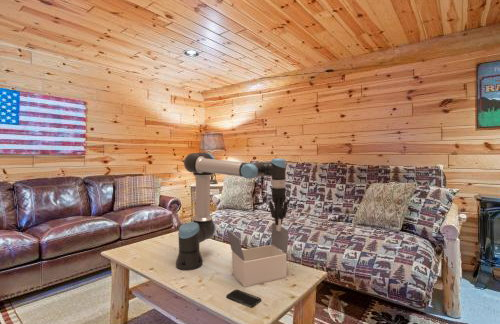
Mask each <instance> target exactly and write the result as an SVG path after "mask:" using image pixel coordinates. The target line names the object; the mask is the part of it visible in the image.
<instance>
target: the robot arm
mask: <svg viewBox="0 0 500 324" xmlns="http://www.w3.org/2000/svg"><path fill="white" fill-rule="evenodd" d="M183 166H184V168H185V170H186V172H189V173H191V174H193V175H192V176H194V178H195V216H194V217H193V218H192V221H193V222H192V221H191V222H185V223H183V224H181V225H180V226H179V228H178V233H177V236H178V254H177V258H176V261H175V267H176V269H179V270H182V271H191V270H196V269H199V268H201V267H202V266H203V262H204V261H203V257H202V255H201V251H200V243H203V242H205V241H206V240H208V239H210V238H212V237H213V236H214V235H215V233H216V223H215V222H214V220H213V217H212V215H211V177H212V176H213V174H218V175H224V176H225V175H226V176H227V175H228V176H234V177H241V178H244V179H245V180H246V179H247V180H252V179H255V178H258V177H271V197H270V199H269V200H267V204H268V206H269V211H270V215H271V218H273V219H274V224H275V225H276V230H277V231H281V227H282V225H283V220H284V218H286V216H287V211H288V206H289V203H290V201H291V200H290V199H288V198H287V197H286V192H287V191H286V189H287V188H286V182H287V181H286V173H287V171H286V170H287V169H286V168H287V167H286V166H287V165H286V160H285V158H272V159H271V160H270V161H269V162H268V161H267V162H264V161H252V162H251V163H250V162H243V161H232V160H222V159H216V158H215V157H214V155H213V154H212V153H209V152H192V153H189V154H188V155H186V156H185V158H184V161H183Z"/></svg>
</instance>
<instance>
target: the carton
mask: <svg viewBox="0 0 500 324" xmlns="http://www.w3.org/2000/svg"><path fill="white" fill-rule="evenodd" d="M242 252H243V256H244V260H245V261H243V260H242V259H241V258H240V257H238V256H237V255H236V254H235V253H234V252H233V251H232V250H231V270H232V271H231V274H232V275H233V276H234V277H235V279H236V280H237V281H238V282H239V284H241V285H242V286H243V288H247V287H252V286H256V285H259V284H264V283H267V282H274V281H276V280H278V281H279V280H281V279H286V278H287V253H285V252H284V251H282V250H280V249H279V248H277V247H276V246H274V245H272V244H269V245H268V244H267V245H263V246H262V245H261V246H257V247H251V248H246V249H242ZM285 277H286V278H285Z"/></svg>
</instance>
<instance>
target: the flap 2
mask: <svg viewBox="0 0 500 324" xmlns="http://www.w3.org/2000/svg"><path fill="white" fill-rule="evenodd" d="M288 240H289V229H286V228H285V227H282V226H281V231H277V230H276V225H275V222H272V226H271V241H270V245H273V246H274V247H276V248H277V249H279V250H280V251H282V252H284V253H285V254H287V253H288Z"/></svg>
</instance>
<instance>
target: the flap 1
mask: <svg viewBox="0 0 500 324" xmlns="http://www.w3.org/2000/svg"><path fill="white" fill-rule="evenodd" d="M226 232H227V237H228V241H229V245H230V251H231V252H232V251H233V252H234V253H235V254H236V255H237V256H238V257H240V258H241V259H242V260H243V261H245V260H244V256H243V252H242V250H243V248H242V245H241V240H240V238H239V237H238V236H237V235H235V234H234V233H233V232H232V231H230V230H229V229H226Z"/></svg>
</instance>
